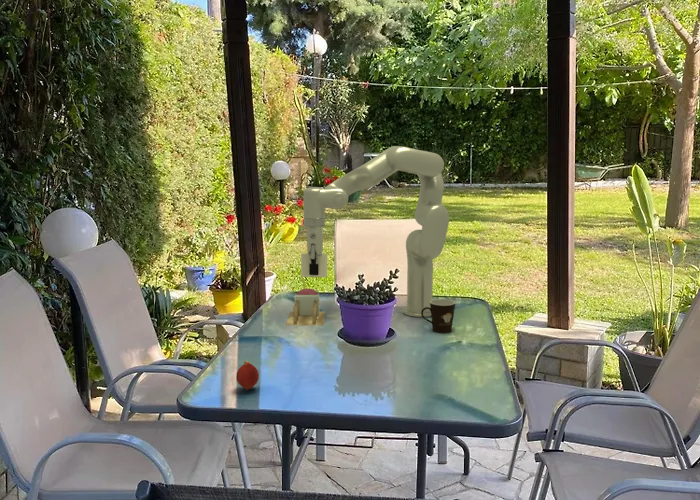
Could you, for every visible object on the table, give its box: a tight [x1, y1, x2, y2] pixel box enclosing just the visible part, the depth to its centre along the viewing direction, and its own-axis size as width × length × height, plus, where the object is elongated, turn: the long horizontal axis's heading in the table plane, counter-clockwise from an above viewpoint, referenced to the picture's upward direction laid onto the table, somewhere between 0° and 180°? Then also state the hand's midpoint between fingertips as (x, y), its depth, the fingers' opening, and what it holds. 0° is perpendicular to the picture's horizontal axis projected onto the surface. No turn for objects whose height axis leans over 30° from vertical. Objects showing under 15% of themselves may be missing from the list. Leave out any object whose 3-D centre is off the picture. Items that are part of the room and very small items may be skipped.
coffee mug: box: [421, 298, 456, 334], centre depth 220 cm, size 12×9×10 cm
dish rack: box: [285, 300, 326, 326], centre depth 230 cm, size 13×17×8 cm
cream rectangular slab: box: [300, 252, 328, 278], centre depth 228 cm, size 9×3×8 cm, turn 88°
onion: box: [236, 360, 260, 391], centre depth 169 cm, size 6×6×8 cm
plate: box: [293, 294, 321, 315], centre depth 235 cm, size 9×3×7 cm, turn 90°
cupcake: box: [295, 277, 319, 295], centre depth 251 cm, size 9×8×12 cm
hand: (314, 273), depth 228 cm, fingers closed on cream rectangular slab, 2 cm apart
